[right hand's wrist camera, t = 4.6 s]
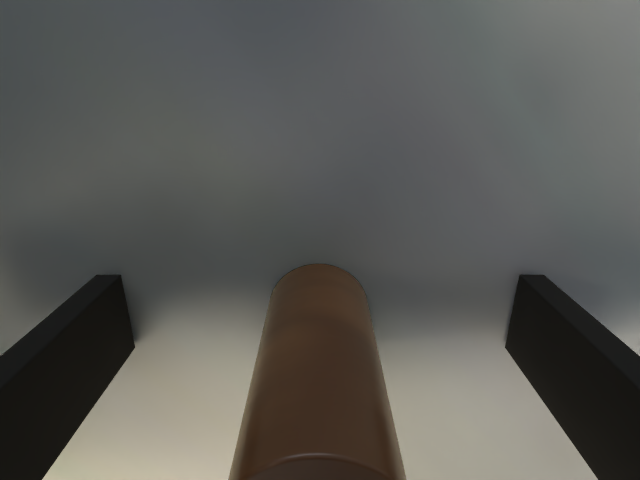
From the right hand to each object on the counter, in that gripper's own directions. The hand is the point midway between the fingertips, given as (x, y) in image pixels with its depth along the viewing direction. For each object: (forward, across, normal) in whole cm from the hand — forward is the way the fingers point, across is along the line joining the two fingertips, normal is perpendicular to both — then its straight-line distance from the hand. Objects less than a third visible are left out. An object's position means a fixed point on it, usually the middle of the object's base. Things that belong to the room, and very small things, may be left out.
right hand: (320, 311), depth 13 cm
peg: (0, 0, 0) cm, 0 cm away
